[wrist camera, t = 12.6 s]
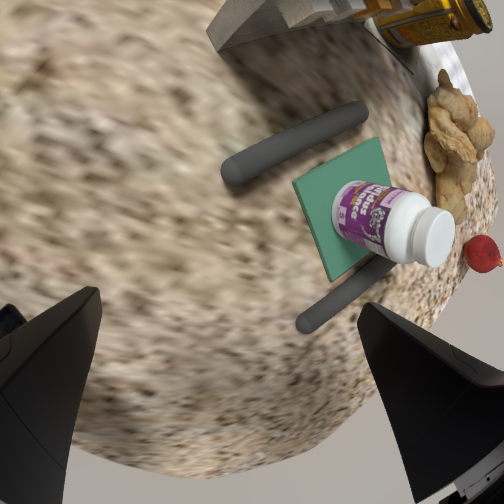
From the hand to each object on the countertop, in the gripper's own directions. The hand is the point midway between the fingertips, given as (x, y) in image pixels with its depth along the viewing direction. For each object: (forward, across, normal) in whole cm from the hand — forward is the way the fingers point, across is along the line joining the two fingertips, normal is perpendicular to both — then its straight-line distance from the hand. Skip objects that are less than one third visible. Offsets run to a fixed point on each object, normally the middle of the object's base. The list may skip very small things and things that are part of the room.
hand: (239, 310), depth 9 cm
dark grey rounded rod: (+15, -14, +7) cm, 21 cm away
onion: (+21, -39, +4) cm, 44 cm away
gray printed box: (+16, -4, -16) cm, 23 cm away
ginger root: (+20, -25, -10) cm, 34 cm away
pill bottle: (+15, -12, 0) cm, 19 cm away
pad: (+16, -12, 0) cm, 20 cm away
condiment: (+20, -16, -20) cm, 33 cm away
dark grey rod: (+15, -5, -5) cm, 16 cm away
